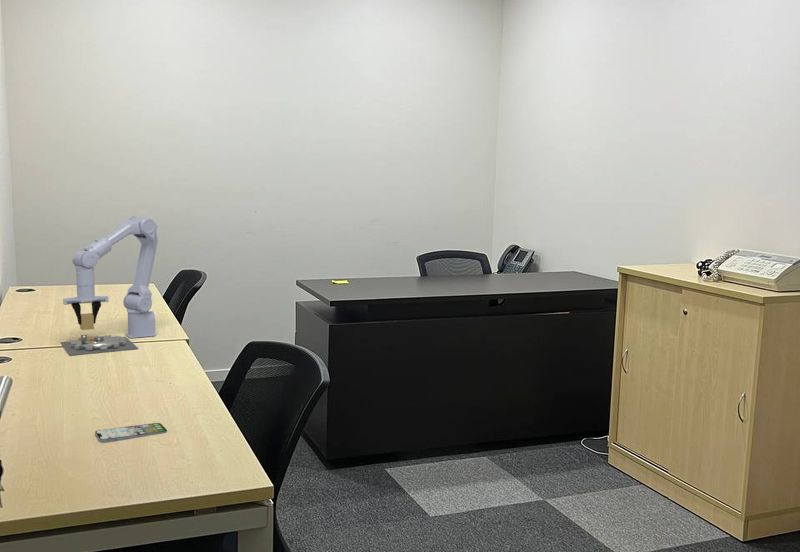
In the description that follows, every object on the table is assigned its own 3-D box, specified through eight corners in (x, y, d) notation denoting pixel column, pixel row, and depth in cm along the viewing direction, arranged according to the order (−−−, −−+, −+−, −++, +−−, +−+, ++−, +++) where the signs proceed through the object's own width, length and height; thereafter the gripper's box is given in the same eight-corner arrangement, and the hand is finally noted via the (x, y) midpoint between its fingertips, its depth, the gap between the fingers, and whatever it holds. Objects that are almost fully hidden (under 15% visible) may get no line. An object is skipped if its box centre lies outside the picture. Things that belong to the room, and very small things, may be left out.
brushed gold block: (92, 327, 271) (91, 313, 270) (93, 329, 267) (93, 315, 267) (79, 328, 269) (79, 314, 268) (81, 330, 265) (81, 315, 265)
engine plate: (125, 337, 281) (125, 336, 281) (138, 349, 263) (138, 348, 263) (60, 343, 270) (60, 342, 270) (69, 355, 252) (69, 354, 252)
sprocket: (102, 336, 279) (101, 325, 278) (137, 342, 270) (137, 330, 269) (59, 345, 263) (58, 333, 262) (95, 352, 254) (94, 339, 254)
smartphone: (168, 431, 180) (100, 440, 172) (168, 435, 180) (100, 444, 172) (159, 422, 186) (94, 430, 178) (159, 426, 186) (94, 435, 178)
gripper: (105, 282, 273) (106, 319, 275) (61, 284, 266) (62, 323, 267) (109, 285, 267) (110, 323, 269) (64, 287, 260) (65, 326, 261)
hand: (86, 323), depth 268 cm, fingers closed on brushed gold block, 4 cm apart
